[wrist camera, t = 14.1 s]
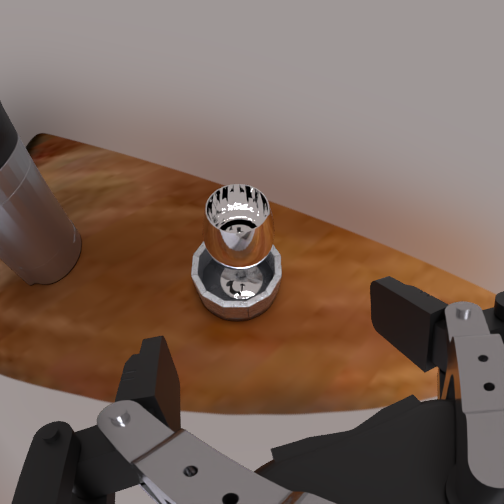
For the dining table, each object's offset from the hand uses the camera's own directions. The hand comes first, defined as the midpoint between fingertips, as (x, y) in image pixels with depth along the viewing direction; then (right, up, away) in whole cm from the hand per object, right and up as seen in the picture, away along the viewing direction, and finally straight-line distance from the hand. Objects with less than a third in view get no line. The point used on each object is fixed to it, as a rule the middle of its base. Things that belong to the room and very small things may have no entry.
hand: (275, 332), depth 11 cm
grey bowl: (-2, 0, +23) cm, 23 cm away
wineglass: (-2, 0, +22) cm, 22 cm away
